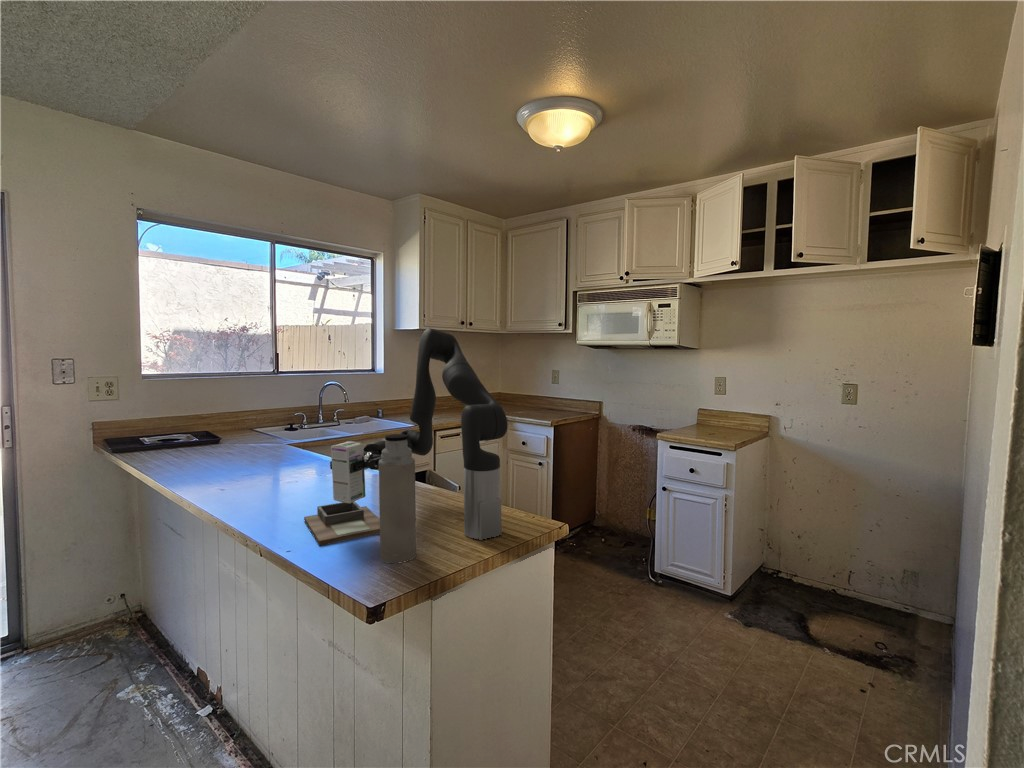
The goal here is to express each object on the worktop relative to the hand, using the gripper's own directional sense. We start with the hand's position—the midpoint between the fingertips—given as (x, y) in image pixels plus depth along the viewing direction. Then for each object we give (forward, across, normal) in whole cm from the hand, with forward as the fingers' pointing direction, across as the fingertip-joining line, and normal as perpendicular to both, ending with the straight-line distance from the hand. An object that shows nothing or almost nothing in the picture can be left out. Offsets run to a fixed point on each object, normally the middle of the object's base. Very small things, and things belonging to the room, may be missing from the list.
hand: (341, 466), depth 123 cm
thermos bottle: (+5, +20, +18) cm, 28 cm away
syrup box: (-3, 0, +9) cm, 10 cm away
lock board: (-5, -4, +18) cm, 19 cm away
